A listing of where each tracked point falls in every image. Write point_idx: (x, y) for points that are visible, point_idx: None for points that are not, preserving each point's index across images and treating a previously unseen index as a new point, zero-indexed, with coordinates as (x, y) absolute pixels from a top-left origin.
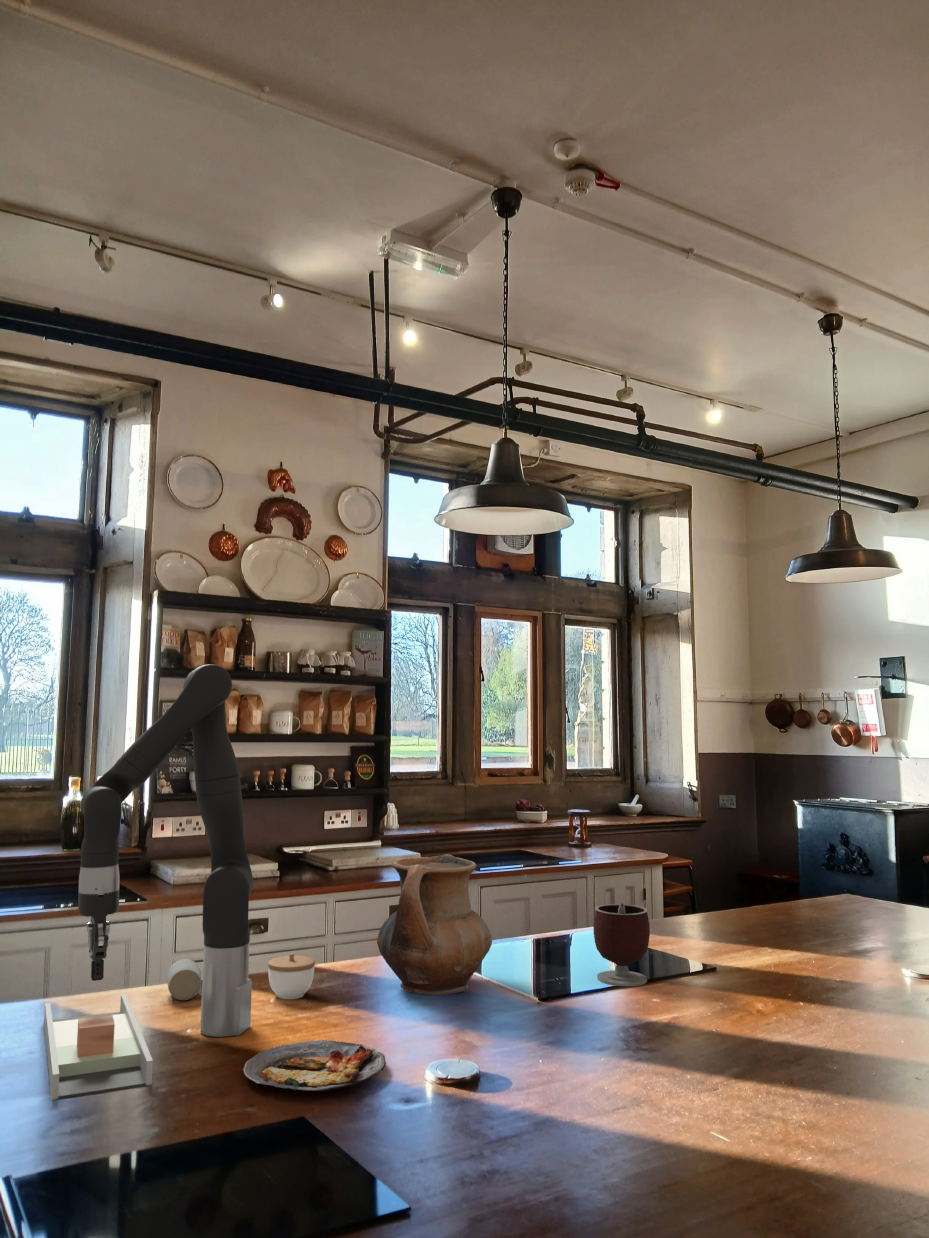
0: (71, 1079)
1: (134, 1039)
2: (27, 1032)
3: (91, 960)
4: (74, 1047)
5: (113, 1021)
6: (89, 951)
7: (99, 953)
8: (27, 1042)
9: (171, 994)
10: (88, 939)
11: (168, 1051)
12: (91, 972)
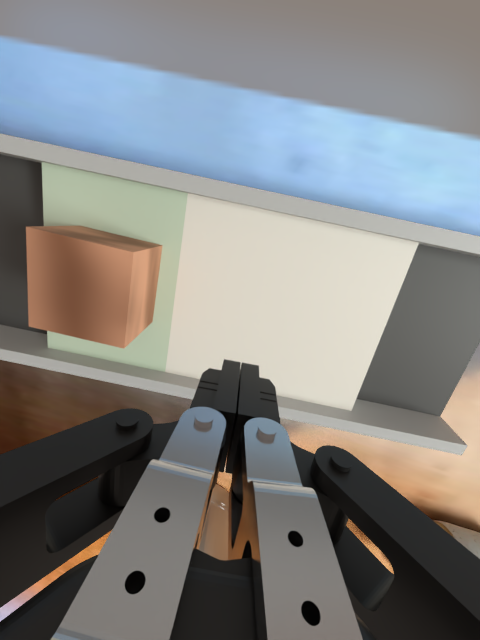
0: (38, 197)
1: (147, 367)
2: (475, 192)
3: (200, 409)
4: (159, 238)
5: (58, 332)
6: (331, 457)
7: (100, 478)
8: (387, 171)
9: (439, 523)
10: (259, 553)
11: (135, 405)
12: (224, 374)
